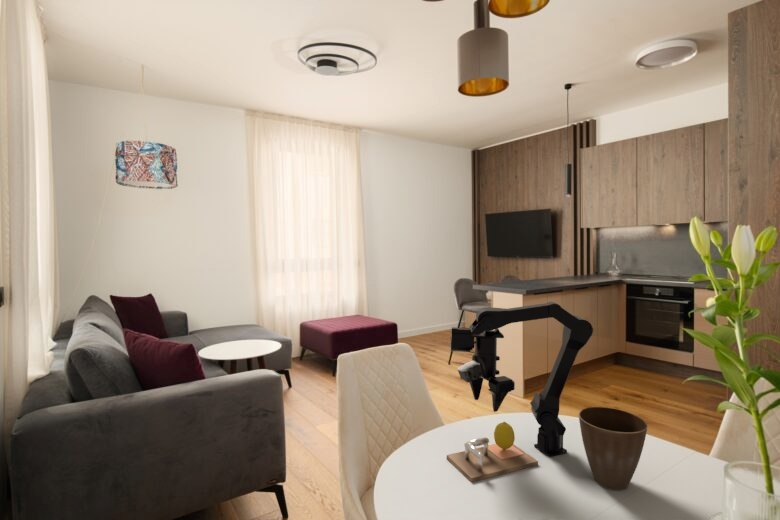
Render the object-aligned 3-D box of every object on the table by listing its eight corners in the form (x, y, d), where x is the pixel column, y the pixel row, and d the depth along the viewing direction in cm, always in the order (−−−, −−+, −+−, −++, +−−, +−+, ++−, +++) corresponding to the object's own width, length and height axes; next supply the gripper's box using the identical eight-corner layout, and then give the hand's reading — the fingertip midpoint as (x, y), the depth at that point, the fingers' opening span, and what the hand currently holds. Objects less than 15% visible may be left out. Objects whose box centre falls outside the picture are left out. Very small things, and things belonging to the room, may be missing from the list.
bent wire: (486, 452, 116) (486, 436, 116) (503, 466, 109) (504, 448, 109) (463, 458, 113) (463, 441, 113) (479, 472, 106) (479, 454, 106)
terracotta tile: (506, 442, 122) (506, 441, 122) (523, 454, 115) (523, 453, 115) (484, 447, 119) (484, 446, 119) (501, 460, 112) (501, 459, 112)
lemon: (515, 456, 114) (515, 427, 114) (494, 453, 115) (494, 425, 115) (513, 446, 120) (513, 418, 119) (493, 444, 121) (493, 417, 120)
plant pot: (619, 507, 94) (621, 438, 93) (564, 474, 107) (565, 413, 107) (658, 489, 101) (661, 424, 100) (602, 460, 114) (604, 402, 113)
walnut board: (509, 444, 123) (509, 441, 123) (538, 464, 112) (538, 461, 112) (446, 458, 115) (446, 455, 115) (471, 482, 104) (471, 478, 104)
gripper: (445, 347, 126) (445, 398, 127) (481, 364, 109) (481, 423, 110) (476, 343, 131) (476, 393, 131) (516, 359, 113) (515, 416, 114)
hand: (485, 405), depth 122 cm, fingers open, 9 cm apart
